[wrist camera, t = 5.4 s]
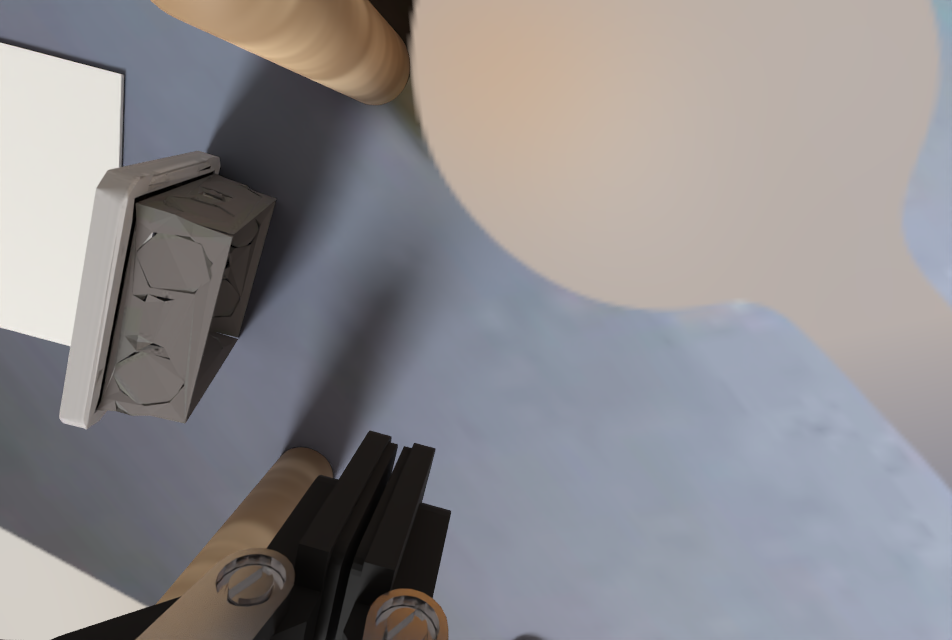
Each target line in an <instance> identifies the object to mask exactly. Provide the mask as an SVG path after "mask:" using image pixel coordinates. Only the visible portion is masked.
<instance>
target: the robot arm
mask: <svg viewBox="0 0 952 640" xmlns="http://www.w3.org/2000/svg"><path fill="white" fill-rule="evenodd" d="M397 448H398V444H394V443H391V436H388V435H384V434H381V433H377V432H373V431H369V432H368V433H367V435H366V437H365V438H364V440H363V441H362V443H361V445H360V446H359V448H358V449H357V451H356V453H355V454H354V456H353V457H352V459H351V461H350V462H349V464H348V465H347V467H346V469H345V470H344V472H343V473H342V475H341V477H340V478H339V480H338V479H334V478H331V477H327V476H324V475H319V476H318V477H317V478H316V479H315V480H314V482H313V483H312V484H311V486H310V487H309V489H308V490H307V491H306V493H305V494H304V496H303V497H302V499H301V500H300V501H299V503H298V504H297V506H296V507H295V508H294V510H293V511H292V513H291V514H290V516H289V517H288V518H287V520H286V521H285V523H284V524H283V525H282V527H281V528H280V530H279V531H278V533H277V534H276V535H275V537H274V538H273V540H272V541H271V542H270V544H269V545H268V547H267V548H250V549H244V550H239V551H237V552H235V553H232V554H230V555H227V556H226V557H225V558H223V559H222V560H220V561H219V562H218V563H216V564H215V565H214V566H213V567H212V568H211V569H210V570H209V571H208V572H207V573H206V574H205V575H204V576H203V577H201V578H200V579H199V580H198V581H197V582H196V583H195V584H194V585H193V586H192V587H191V588H190V589H189V590H188V591H187V592H186V593H184V594H183V595H182V596H180V597H177V598H174V599H171V600H168V601H165V602H162V603H159V604H156V605H153V606H150V607H147V608H144V609H141V610H138V611H135V612H132V613H128V614H125V615H122V616H119V617H116V618H113V619H110V620H107V621H104V622H101V623H98V624H95V625H92V626H89V627H86V628H83V629H80V630H77V631H73V632H70V633H67V634H65V635H62V636H58V637H56V638H54V639H52V640H448V623H447V617H446V615H445V613H444V612H443V610H442V608H441V606H440V605H439V604H438V603H437V602H436V601H435V600H434V599H433V593H434V589H435V584H436V580H437V575H438V570H439V566H440V561H441V557H442V552H443V547H444V543H445V538H446V533H447V529H448V524H449V520H450V515H451V511H450V510H446V509H443V508H439V507H436V506H432V505H428V504H425V503H422V500H423V496H424V492H425V488H426V484H427V480H428V477H429V473H430V469H431V465H432V461H433V457H434V453H435V448H432V447H428V446H424V445H421V444H417V443H414V445H413V447H412V448H409V447H405V446H404V448H403V450H402V452H401V454H400V456H399V459H398V461H397V463H396V465H395V468H394V470H393V472H392V469H393V465H394V461H395V457H396V452H397ZM0 640H2V639H0Z"/></svg>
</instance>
